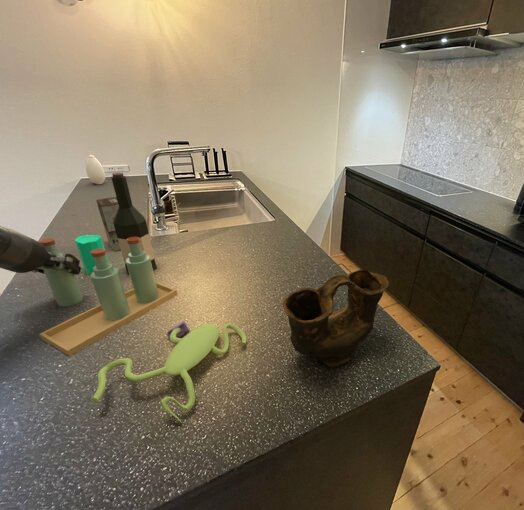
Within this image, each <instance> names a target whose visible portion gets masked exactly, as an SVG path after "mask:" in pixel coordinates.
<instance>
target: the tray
mask: <svg viewBox="0 0 524 510" xmlns="http://www.w3.org/2000/svg"><path fill="white" fill-rule="evenodd" d="M156 285H157V290H158V294H159V297H158V299H156V300H155V301H153V302H150V303H145V304H142V303H138V302H137V300H136V297H135V293H134V289H133V288H131V289H129V290H127V291H125V295H126V298H127V302H128V305H129V308H130V313H129V314H128V315H127V316H126V317H124V318H122V319H119V320H115V321H109V320H107V319H105V316H104V313H103V311H102V308H101V305H100V304H98V305H96V306H94V307H92V308H90V309H88V310H85V311H84V312H82V313H79V314H77V315H75V316H73V317H71V318H69V319H67V320H65V321H63V322H61V323H59V324H57V325H55V326H53V327H50V328H49V329H46V330H45V331H43V332H40V333H39V337H40V339H41V340H42V341H44V342H45V343H47V344H49V345H50V346H52V347H54V348H55V349H57V350H59V351H60V352H62V353H63V354H65V355H67V356H69V357H72V356H73V355H75V354H76V353H79V352H80V351H82V350H84V349H85V348H87V347H89V346H91V345H92V344H94V343H96V342H98V341H99V340H102V339H103V338H104V337H107V336H108V335H110V334H111V333H114V332H115V331H117V330H119V329H120V328H122V327H123V326H126V325H127V324H129V323H131V322H132V321H134V320H136V319H137V318H139V317H141V316H143V315H144V314H147V313H148V312H150V311H152V310H153V309H155V308H157V307H158V306H160V305H162V304H164V303H166V302H167V301H169V300H171V299H172V298H174V297H176V296H177V295H179V293H178V290H177V289H176V288H173V287H171V286H168V285H165V284H164V283H161V282H158V281H156Z"/></svg>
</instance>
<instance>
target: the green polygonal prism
mask: <svg viewBox="0 0 524 510" xmlns="http://www.w3.org/2000/svg"><path fill="white" fill-rule="evenodd" d="M74 242H75V244H76V247H77V250H78V253H79V256H80V259H81V262H82V265H83V267H84V270H85V273H87V274H88V275H91V273H92V272H94V271H93V268H94V267H95V266H96V264H95V261H94V258H93V257H92V256H91V253H90V252H91V251H92V250H94V249H100V248H102V249H105V245H104V242H103V238H102V236H101V235H99V234H88V233H86V234H85V235H80V236H78V237H76V239H75V240H74ZM105 250H106V249H105ZM105 255H106V259H107V262H108V263H110V261H109V258H108V255H107V253H106V254H105Z"/></svg>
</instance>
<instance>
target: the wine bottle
mask: <svg viewBox="0 0 524 510" xmlns="http://www.w3.org/2000/svg"><path fill="white" fill-rule="evenodd" d="M111 175H112V176H111V177H110V178H111V183H112V186H113V189H114V194H115V197H117V201H118V205H119V208H118V210H117V212H116V215H115V217H114V219H113V224H114V228H115V231H116V235H117V238H118V242H119V245H120V249H121V250H120V252H121V256H122V259H123V263H124V266H125V271H126V274H127V276H130V275H129V271H128V268H127V264H126V259H127V258H129V257H128V254H129V253H131V251H130V247H129V244H128V243H127V238H130V237H139V240H140V242H139V244H140V248H141V251H144V252H145V254H146V255H148V256H150V260H151V264H152V268H153V272H155V271H156V270H157V269H158V267H157V263H156V258H155V254H154V250H153V246H152V240H151V237H150V233H149V227H148V224H147V219H146V217H145V216H144V215H143V214H142V213H141V212H140V211H139V210H138V209H137V208H136V207H135V206H134V205H133V202H132V198H131V192H130V189H129V185H128V181H127V177H126V175H124V173H123V172H114V173H112V174H111Z"/></svg>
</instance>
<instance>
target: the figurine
mask: <svg viewBox="0 0 524 510" xmlns="http://www.w3.org/2000/svg"><path fill="white" fill-rule="evenodd" d="M227 329H230V330H233V331H234V332H235V333H237V334H238V336H239V337H240V339H241V341H239V342H238V344H237V345H238V346H239V347H244V346H245V345H246V344H247V341H248V340H247V339H248V338H247V336H246V333H245V332H244V331H243V330H242V329H241V328H240V327H239V326H238V325H236V324H234V323H226V324H225V325H223V327H222V336H223V348H222V349H220V348H219V347H216V346H215V345H216V343H217V341H218V339H219V335H220V329H219V326H218V325H217V324H215V323H210V322H209V323H205V324H202V325H200V326H197V327H195V328H194V329H193V330H191V331H190V328H189V327H188V324H187V323H186V321H185V320H183V321H181V322H180V323H178V324H177V325H175V326H174V327H173V328H171V329H170V330H168V331H167V332H166V333H165V334H166V336H167V337H168V339H169V340H170V341H171V342H172V343H174V344H175V345H174V347H173V348H172V350H171V351H170V352H169V354H168V355H167V357H166V360H165V363H164V365H163V366H162V367H160V368H157V369H154V370H151V371H148V372H144V373H142V374H141V373H140V374H135V373H133V372H132V369H133V364H134V363H133V359H131V358H129V357H124V358H119V359H115V360H113V361H112V362H109V363H107V364H106V365H104V366H103V367H102V368H101V369H100V370H99V371H98V374H97V381H98V385H97V389H96V391H95V393H94V394H93V396H92V397H91V399H92V401H93V402H94V403H96V404H98V403H99V402H100V400H101V398H102V397H103V395H104V393H105V391H106V386H107V373H108V372H109V371H111V370H112V369H114V368H116V367H119V366H122V365H125V368H124V377H125V379H127V380H129V381H131V382H136V383H139V382H144V381H147V380H150V379H154V378H156V377H159V376H161V375H164V374H167V375H169V376H179V375H180V376H181V378H182V379H183V381H184V383H185V387H186V391H187V395H188V402H187V403H186V404H181V402H179V401H177V399H175V398H174V397H171V396H168V395H166V396H165V397H163V399H161V400H160V405H161V407H162V408H163V409H164V410H165V411H166V412H167V413H169V414H170V415H172V416H173V417H175V418H176V419H177V420H178V421H179V423H181V424H183V422H182V421H181V419H180V418H179V417H178V415H177V414H176V413H175V412H174V411H173V410H172V409H171V408H170V406H169V404H168V403H170V402H171V401H172V402H173V403H175V404H176V406H178V407H179V408H180V409H181V410H182V411H184V412H190V411H191V410H192V408H193V407H195V402H196V392H195V388H194V387H195V386H194V382H193V380H192V378H191V376H190V374H189V370H191V369H192V368H194V367H196V366H197V365H198V364H199V363H201V361H202V360H203V359H205V357H206V356H207V355H208V354H209V353H210V352H212V353H213V354H215V355H218V356H222V355H223V356H224V355H225V354H226V353H227V351H228V349H229V346H230V338H229V334H228V331H227ZM183 335H184V336H183ZM181 336H183V338H180V337H181Z"/></svg>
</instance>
